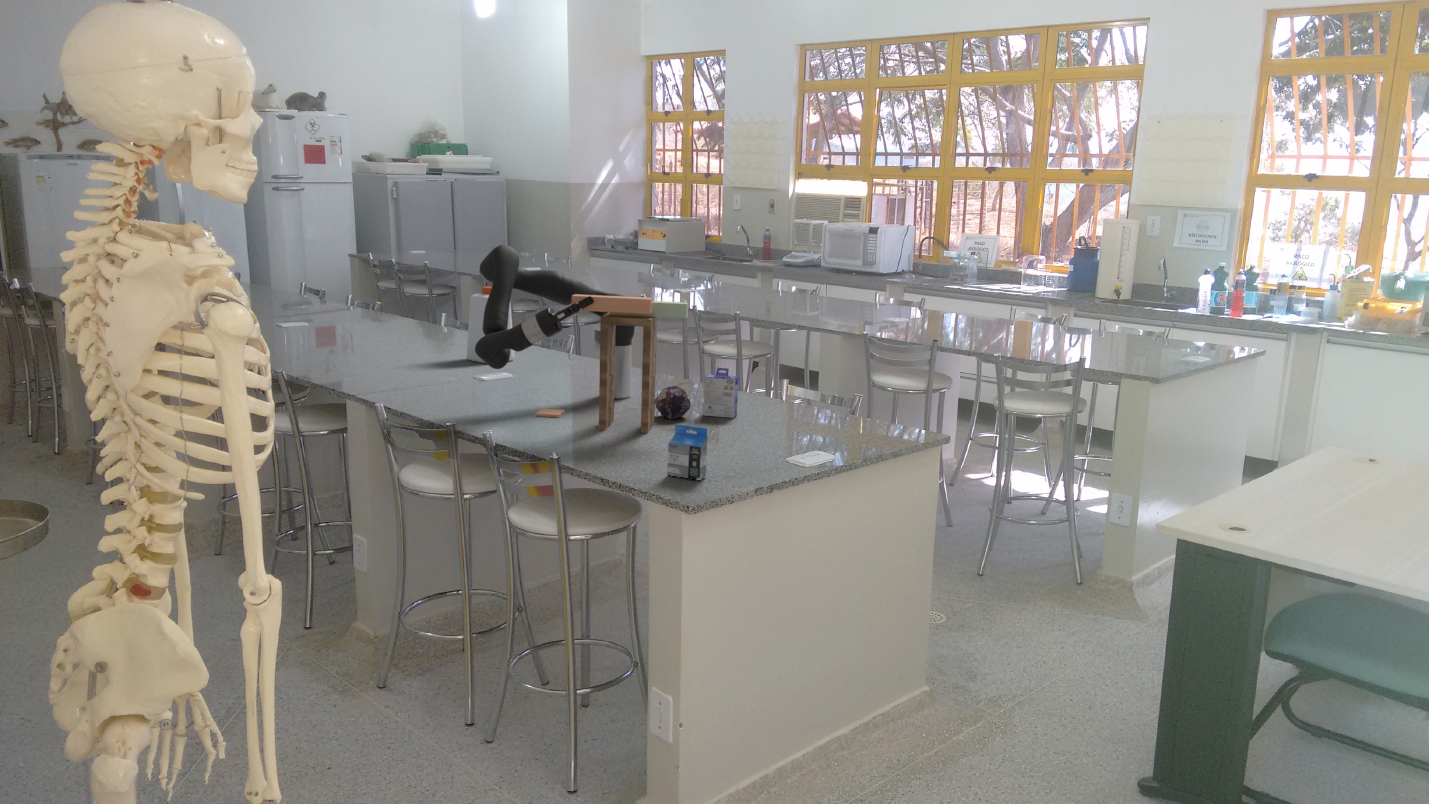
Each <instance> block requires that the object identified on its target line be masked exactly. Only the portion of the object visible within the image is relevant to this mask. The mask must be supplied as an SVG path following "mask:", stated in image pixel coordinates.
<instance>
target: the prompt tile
mask: <svg viewBox="0 0 1429 804" xmlns="http://www.w3.org/2000/svg"><path fill="white" fill-rule="evenodd" d="M564 414H565V409H556V408H555V409H554V408H541V409H539V410H538V411H537V412H535V417H544V418H560V417H561V416H562V415H564Z"/></svg>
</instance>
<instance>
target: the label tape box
mask: <svg viewBox="0 0 1429 804" xmlns="http://www.w3.org/2000/svg"><path fill="white" fill-rule="evenodd" d="M674 429H675V430H674V434H673V436H672V438H671V439H670V440H669V441H668V447H667V448H668V449H667V467H666V472H667V473H666V476H667V475H671V476H670V477H672V476H680V477H687V478H692V479H699V480H700V479H702V478H704V477H705V476H706V473H707V458H708V457H707V455H708V454H707V452H708V439H709V438H708V428H707V427H701V426H700V427H699V426H693V425H686V424H679V423H675V426H674ZM687 431H692V432H695V433H692V432H687ZM706 477H707V476H706ZM706 477H705V478H706ZM705 478H704V479H705ZM700 481H701V480H700Z"/></svg>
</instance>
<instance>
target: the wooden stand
mask: <svg viewBox="0 0 1429 804" xmlns="http://www.w3.org/2000/svg"><path fill="white" fill-rule="evenodd" d="M599 320H600V321H599V322H600V323H599V325H600V326H599V327H600V329H599V330H600V333H599V334H600V335H599V336H600V337H599V381H598V382H599V385H598V386H599V390H598V391H599V394H598V396H599V397H598V398H599V399H598V400H599V401H598V431H607V430H608V428H610V426H611V425H612V424H613V423H614V422H615V398H614V381H615V327H616V325H622V326H635V327H642V328H643V329H642V332H643V333H642V337H643V338H642V363H641V364H642V365H641V366H642V367H641V369H642V370H641V371H642V372H641V375H642V377H641V404H640V405H641V407H640V408H641V409H640V411H641V412H640V414H641V415H640V416H641V417H640V433H641V434H649V432H650V431H651V429H652V428H651V427H653V426H654V425H655V414H656V413H655V411H656V409H655V408H656V406H655V399H656V372H657V371H656V370H657V369H656V368H657V367H656V366H657V338H658V337H657V335H658V332H657V331H658V330H657V329H658V317H649V316H629V315H609V312H608V313H607V314H605V315H603V316H602V317H600V318H599ZM653 424H654V425H653Z"/></svg>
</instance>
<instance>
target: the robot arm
mask: <svg viewBox="0 0 1429 804" xmlns="http://www.w3.org/2000/svg"><path fill="white" fill-rule="evenodd" d="M479 264H480V265H479V272H480V274H481V276H482V277H483V278H484V279H485V280H486V281H488V282H490V283H492V286H491V287H492V288H491V291H490V294H489V297H488V300H487V303H486V306H485V310H484V318H483V333H484V335H485V336H484V337H482V338H481V339H480V340H479V341H478V342H477V344H476V346H475V352H476V354H477V356H478V357H479V358H481V359H482V360H483V361H484V362H485V363H484V364H486V363H487V364H486V365H488V366H489V367H491V368H492V369H495V370H501V369H502V368H504V367H506V365H507V364H508V363H509V362H510V361H509V358H510V349H512V350H514V352H518V353H519V352H522V351H524V350H527V349H528V348H530V347H532V346H533V345H535V344H539V343H542V342H543V341H545V340H547V339H548V338H551V337H552V336H554V335H557V334H558V333H560V332H562V331H563V330H564V329H563V328H564V327H563V324H562V322H564V323H566V322H568V321H569V320H571V319H572V318H573V317H575V316H576V315H578V314H580V313H581V312H582V311H581V310H582V308H585V307H587V306H589V305H591V304H593V303H594V300H593V298H592V296H589V297H587V298H585V299H583V300H581V301H579V302H575V304H572V295H574V294H580V295H601V296H622V297H628V296H627V295H622V294H618V293H613V292H608V291H603V290H599V289H596V288H593V287H591V286H590V285H587V284H585V283H584V282H582V281H580V280H579V279H578V278H576V277H573V276H570V275H567V274H565V273H562V272H560V271H558V270H549V269H547V270H543V269H542V270H538V269H537V270H526V269H522V268H520V267H519V266H520V257H519V254H518V253H517V251H516V250H515V249H514V248H513V247H511V246H510V245H507V244H499V245H497V246H495V247H494V248H493V249H491V251H490V252H489V253H488V254H487V255H486V256H485V257H484V258H483V259H482V261H481V262H480V263H479ZM514 289H515V290H518V291H522V292H525V293H528V294H531V295H534V296H538V297H540V298H543V299H546V300H549V301H551V302H554V303H557V304H560V305H563V306H562V307H560V308H558V309H557V311H555V309H554V308H552V307H551V306H548V307H546V308H545V309H542V310H540V311H539V312H537V313H535V314H533V315H531V316H529V317H528V318H526V319H525V320H523V321H521V322H520V323H519V324H517V325H515V326H512V328H511V329H508V330H507V327H508V315H509V306H510V302H511V300H512V293H513V290H514ZM589 312H590V313H592V314H594V315H596V316H598V317H600V318H601V317H602V316H603V315H605V314H607V313H608V312H599V311H589ZM635 327H636V326H622V325H616V327H615V381H614V399H627V398H630V397H631V393H632V391H631V390H632V389H631V386H632V381H631V380H632V347H633V346H632V345H633V344H632V340H633V338H634V335H635Z"/></svg>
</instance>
